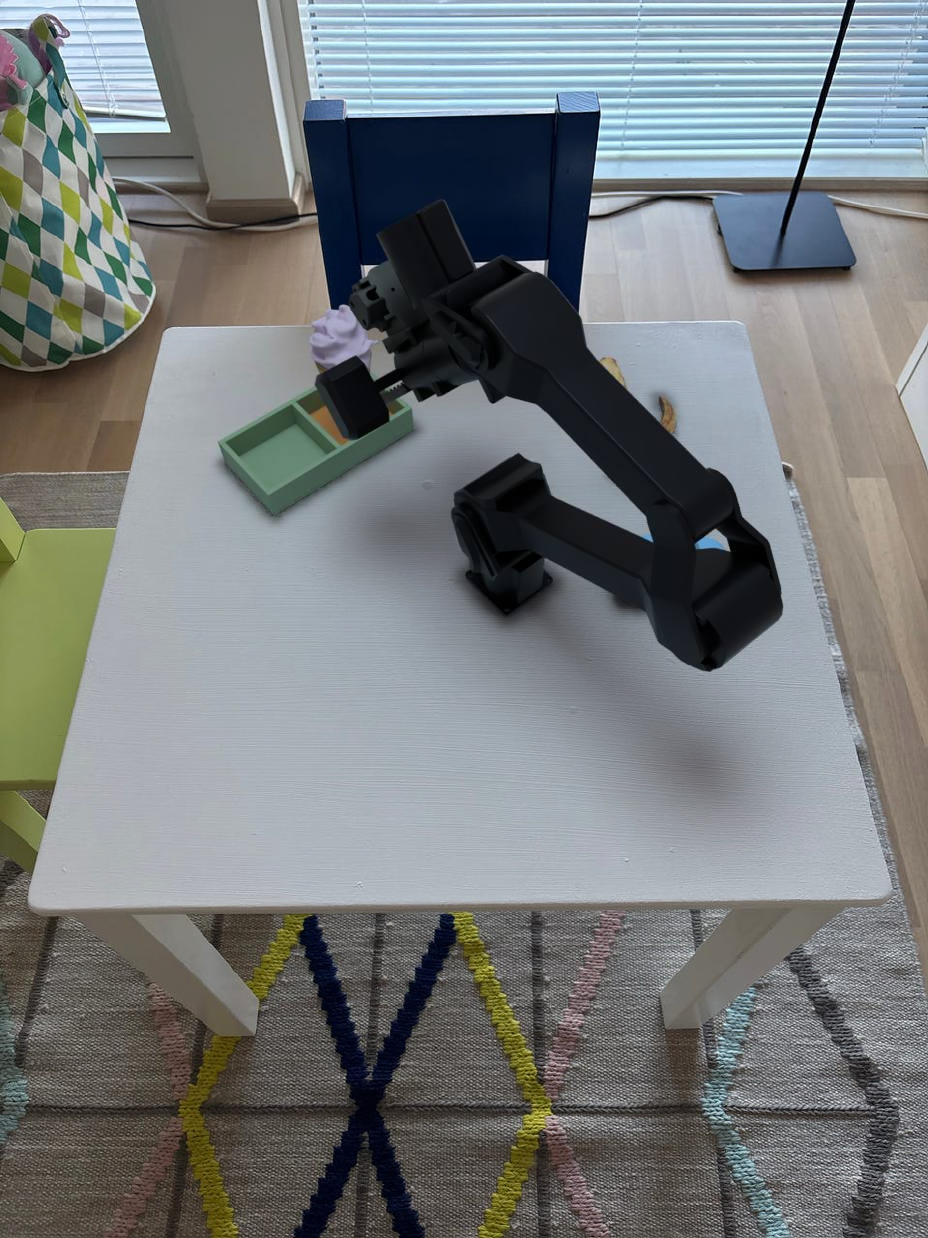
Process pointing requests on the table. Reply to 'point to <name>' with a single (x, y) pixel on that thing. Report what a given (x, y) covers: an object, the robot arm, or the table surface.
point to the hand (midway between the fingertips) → (386, 374)
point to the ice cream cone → (339, 339)
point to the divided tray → (303, 448)
